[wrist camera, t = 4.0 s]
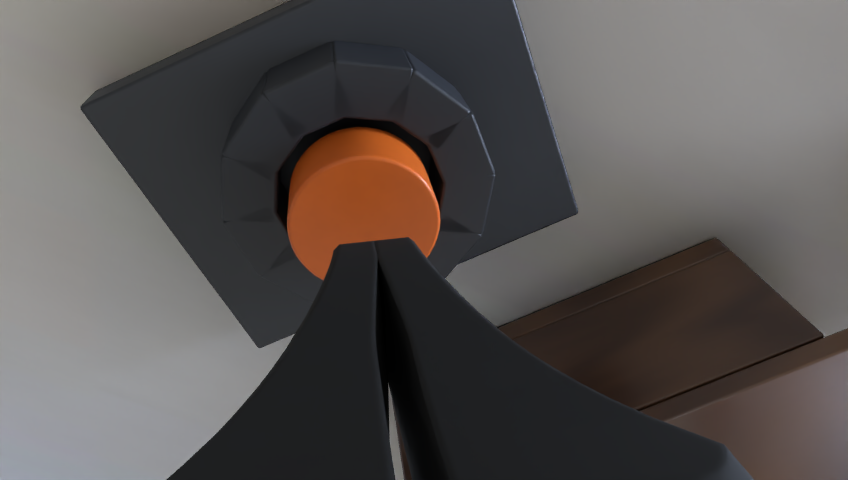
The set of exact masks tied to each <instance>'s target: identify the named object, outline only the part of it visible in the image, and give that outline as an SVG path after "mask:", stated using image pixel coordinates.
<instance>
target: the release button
mask: <svg viewBox="0 0 848 480" xmlns="http://www.w3.org/2000/svg"><path fill="white" fill-rule="evenodd" d="M439 229H440V210H439V205H438V202H437V199H436V196H435V194H434V191H433V188H432V186H431V183H430V180H429V178H428V175H427V172H426V170H425V167H424V165H423V163H422V161H421V159H420V157H419V156H418V155H417V153H416V152H415V151H414V150H413V149H412V148H411V146H410V145H409V144H407V143H406V142H405V141H403V140H402V139H401V138H399V137H397V136H395V135H394V134H391V133H389V132H386V131H383V130H380V129H376V128H369V127H352V128H345V129H341V130H337V131H335V132H332V133H329V134H327V135H326V136H324V137H322V138H320V139H319V140H317V141H316V142H314V143H313V144H312V145H311V146H310V147H309V148H308V149H307V150H306V151H305V152H304V153H303V154H302V156H301V157H300V159H299V160H298V162H297V163H296V166H295V168H294V170H293V173H292V177H291V180H290V189H289V202H288V215H287V232H288V237H289V241H290V244H291V247H292V249H293V251H294V253H295V255H296V256H297V258H298V259H299V260H300V262H301V263H302V264H303V265H304V266H305V267H306V268H307V269H308V270H309V271H310V272H311V273H313V274H314V275H315V276H317V277H318V278H320V279H322V280H324V278H325V276H326V273H327V271H328V268H329V265H330V262H331V259H332V255H333V250H334V249H335V248H336V247H337V246H338V245H339V244H347V243H356V242H366V241H376V240H385V239H395V238H405V237H409V238H410V239H412V240H413V241H414V242H415V243H416V245H417V246H418V247H419V249H420V250H421V251H422V253H423V254H424V255H425V256H426V258H427V257H428V256H429V254H430V253H431V251H432V249H433V247H434V245H435V243H436V240H437V238H438V234H439Z"/></svg>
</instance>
